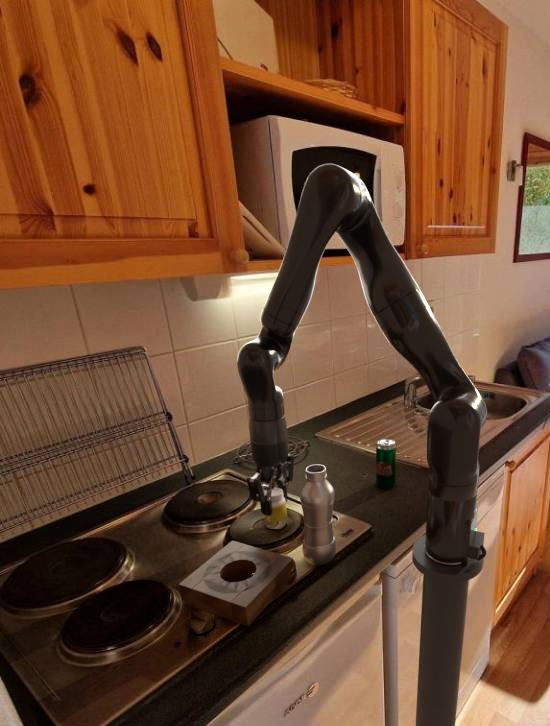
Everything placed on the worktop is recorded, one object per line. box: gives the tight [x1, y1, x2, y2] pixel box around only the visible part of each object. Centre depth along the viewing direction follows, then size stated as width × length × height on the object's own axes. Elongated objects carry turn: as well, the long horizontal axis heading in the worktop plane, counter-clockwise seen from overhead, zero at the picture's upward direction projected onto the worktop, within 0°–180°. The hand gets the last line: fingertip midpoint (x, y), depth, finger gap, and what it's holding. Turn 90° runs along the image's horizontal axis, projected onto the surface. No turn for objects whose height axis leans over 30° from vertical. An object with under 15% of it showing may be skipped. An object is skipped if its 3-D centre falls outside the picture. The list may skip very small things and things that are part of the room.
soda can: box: [375, 438, 397, 490], centre depth 121 cm, size 5×5×12 cm
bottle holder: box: [178, 540, 295, 627], centre depth 86 cm, size 14×14×4 cm
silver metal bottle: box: [299, 463, 337, 566], centre depth 91 cm, size 6×7×20 cm
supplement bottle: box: [264, 486, 288, 523], centre depth 104 cm, size 5×5×8 cm
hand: (275, 507), depth 104 cm, fingers open, 5 cm apart
